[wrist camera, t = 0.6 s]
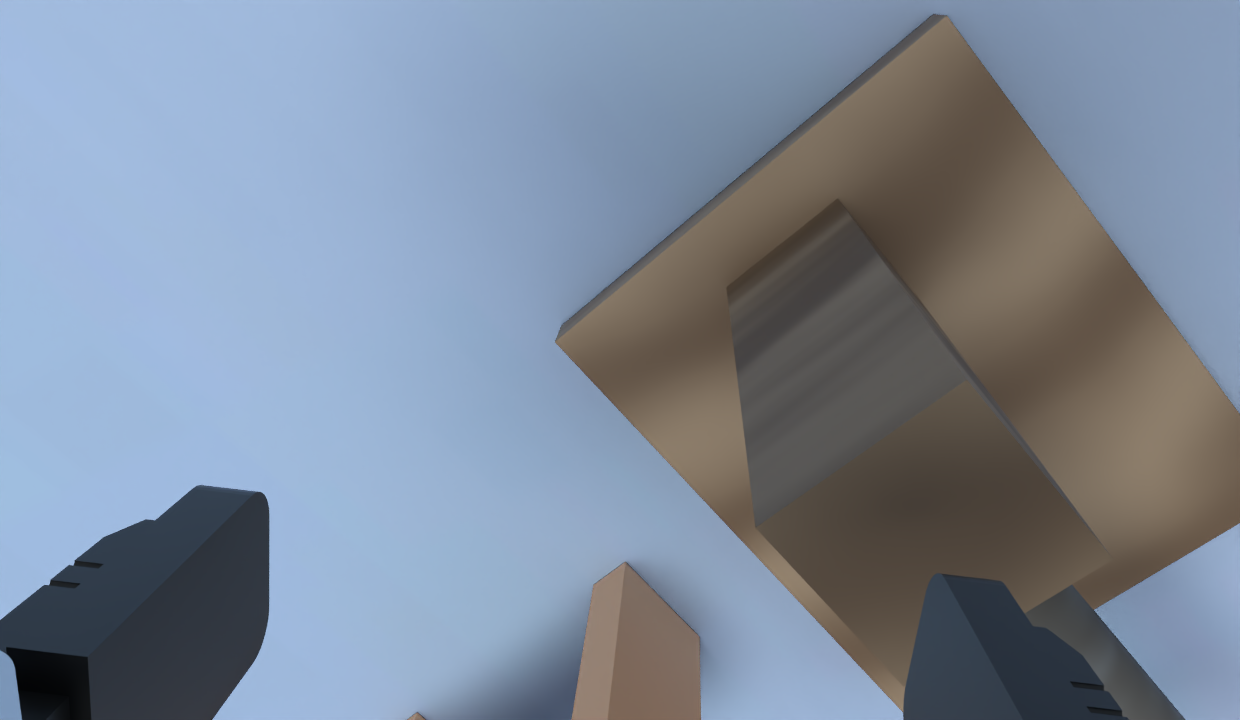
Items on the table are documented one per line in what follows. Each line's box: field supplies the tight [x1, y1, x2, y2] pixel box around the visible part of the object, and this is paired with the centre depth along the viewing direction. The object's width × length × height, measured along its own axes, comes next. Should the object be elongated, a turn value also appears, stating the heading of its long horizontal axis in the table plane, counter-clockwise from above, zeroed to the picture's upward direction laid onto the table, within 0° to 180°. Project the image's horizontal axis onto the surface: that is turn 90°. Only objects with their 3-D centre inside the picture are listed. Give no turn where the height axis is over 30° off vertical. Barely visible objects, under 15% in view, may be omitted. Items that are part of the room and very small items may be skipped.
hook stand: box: [555, 14, 1240, 720], centre depth 24 cm, size 24×14×15 cm, turn 41°
